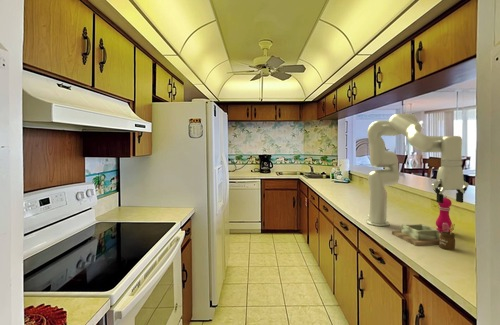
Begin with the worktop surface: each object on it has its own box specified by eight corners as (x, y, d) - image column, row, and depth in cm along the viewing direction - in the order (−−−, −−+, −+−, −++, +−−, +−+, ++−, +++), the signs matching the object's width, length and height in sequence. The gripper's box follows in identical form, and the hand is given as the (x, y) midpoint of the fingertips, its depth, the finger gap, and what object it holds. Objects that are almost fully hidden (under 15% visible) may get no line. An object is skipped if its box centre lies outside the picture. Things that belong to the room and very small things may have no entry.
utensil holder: (448, 245, 138) (449, 219, 137) (458, 250, 132) (459, 223, 131) (436, 245, 138) (437, 220, 137) (445, 250, 131) (446, 223, 131)
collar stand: (391, 233, 156) (392, 223, 155) (423, 232, 158) (423, 222, 158) (415, 245, 138) (415, 233, 138) (450, 243, 140) (450, 232, 140)
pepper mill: (445, 230, 162) (446, 193, 161) (455, 234, 155) (456, 196, 154) (432, 230, 162) (433, 193, 161) (441, 234, 155) (442, 196, 154)
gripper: (461, 163, 137) (460, 200, 138) (426, 163, 135) (425, 201, 136) (475, 164, 130) (474, 203, 130) (439, 164, 127) (438, 204, 128)
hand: (449, 202), depth 133 cm, fingers open, 9 cm apart
